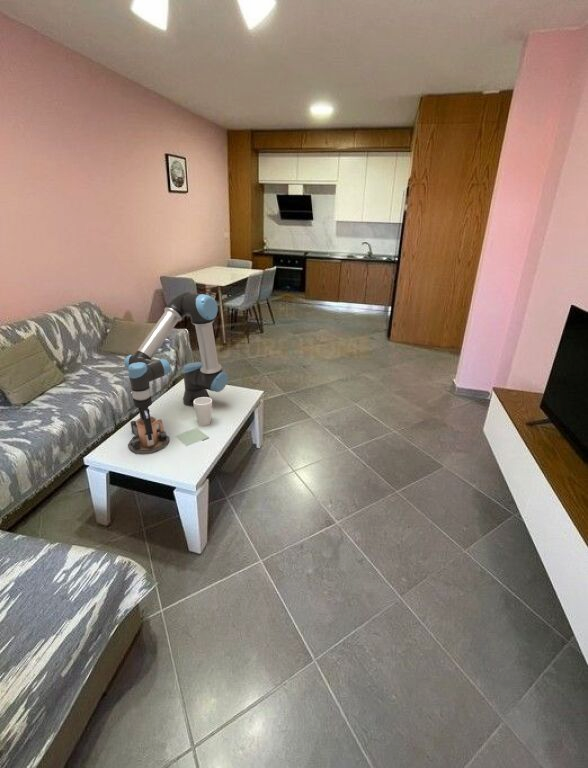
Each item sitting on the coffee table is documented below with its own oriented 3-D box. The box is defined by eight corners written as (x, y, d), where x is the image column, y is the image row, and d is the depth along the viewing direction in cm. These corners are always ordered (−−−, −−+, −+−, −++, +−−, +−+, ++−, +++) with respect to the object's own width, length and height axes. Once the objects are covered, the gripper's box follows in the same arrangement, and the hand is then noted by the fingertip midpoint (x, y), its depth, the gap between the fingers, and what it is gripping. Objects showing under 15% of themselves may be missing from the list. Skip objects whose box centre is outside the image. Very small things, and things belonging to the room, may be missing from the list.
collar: (116, 437, 174) (114, 427, 171) (149, 424, 185) (148, 415, 183) (140, 457, 159) (138, 447, 157) (175, 442, 171) (173, 432, 169)
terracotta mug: (136, 442, 171) (132, 420, 166) (159, 434, 178) (156, 412, 173) (143, 450, 165) (140, 427, 160) (167, 441, 172) (164, 419, 167)
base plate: (159, 430, 182) (159, 429, 182) (176, 445, 170) (176, 444, 170) (122, 443, 171) (122, 442, 171) (138, 460, 159) (137, 459, 159)
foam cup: (209, 428, 185) (207, 406, 180) (192, 426, 187) (190, 403, 182) (216, 419, 194) (214, 398, 189) (200, 417, 195) (198, 396, 190)
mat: (196, 428, 185) (196, 427, 185) (209, 438, 177) (209, 437, 177) (174, 436, 177) (174, 435, 177) (186, 447, 169) (186, 446, 169)
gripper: (129, 389, 167) (136, 432, 176) (137, 408, 151) (144, 454, 160) (146, 386, 171) (152, 428, 180) (155, 404, 154) (162, 449, 164)
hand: (148, 440), depth 170 cm, fingers closed on terracotta mug, 8 cm apart
